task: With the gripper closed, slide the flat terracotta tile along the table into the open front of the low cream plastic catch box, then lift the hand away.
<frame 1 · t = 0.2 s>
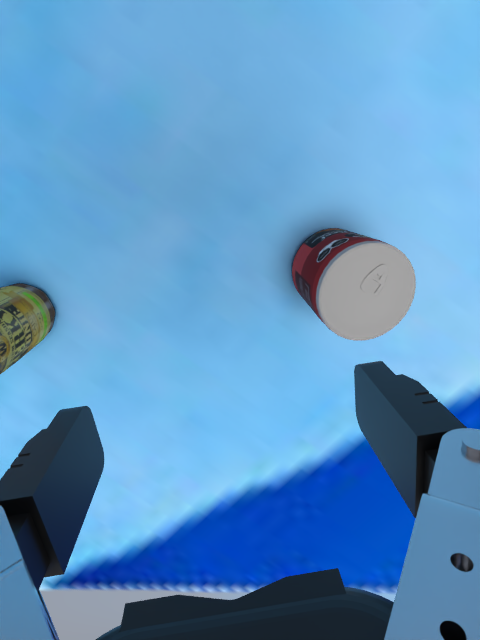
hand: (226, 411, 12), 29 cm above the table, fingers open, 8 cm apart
canned food: (326, 265, 40), on the table
sauce bottle: (27, 308, 39), on the table
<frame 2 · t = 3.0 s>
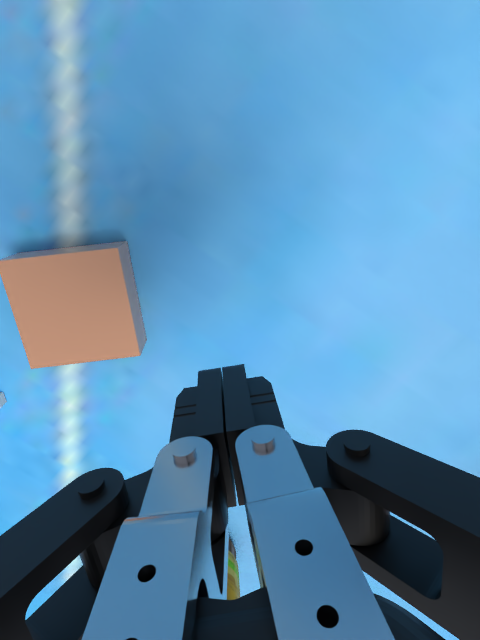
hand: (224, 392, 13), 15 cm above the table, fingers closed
sauce bottle: (201, 544, 35), on the table
terracotta tile: (87, 296, 26), on the table
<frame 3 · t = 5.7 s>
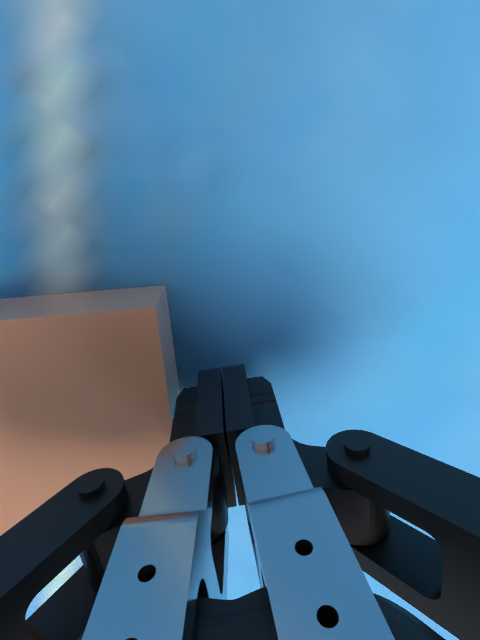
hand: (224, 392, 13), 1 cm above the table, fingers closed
terracotta tile: (82, 383, 14), on the table
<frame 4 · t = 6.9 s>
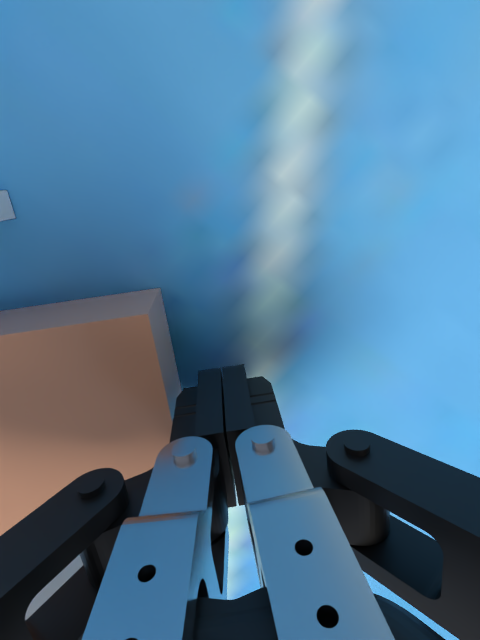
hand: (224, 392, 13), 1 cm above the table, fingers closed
terracotta tile: (84, 391, 14), on the table, touching gripper
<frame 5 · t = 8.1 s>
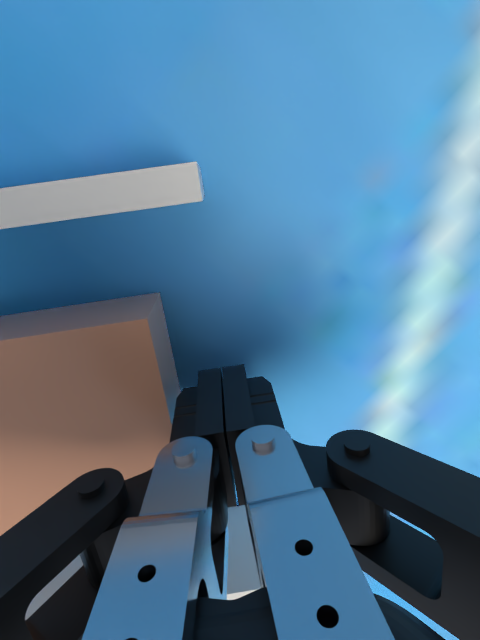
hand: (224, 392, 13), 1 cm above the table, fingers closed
catch box: (50, 399, 14), on the table
terracotta tile: (84, 396, 14), on the table, touching gripper
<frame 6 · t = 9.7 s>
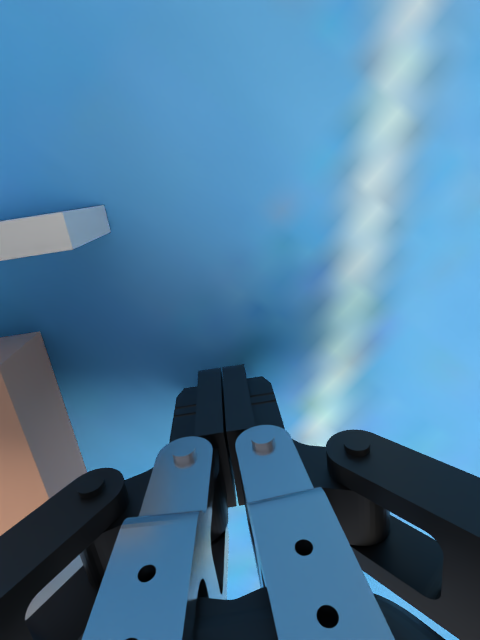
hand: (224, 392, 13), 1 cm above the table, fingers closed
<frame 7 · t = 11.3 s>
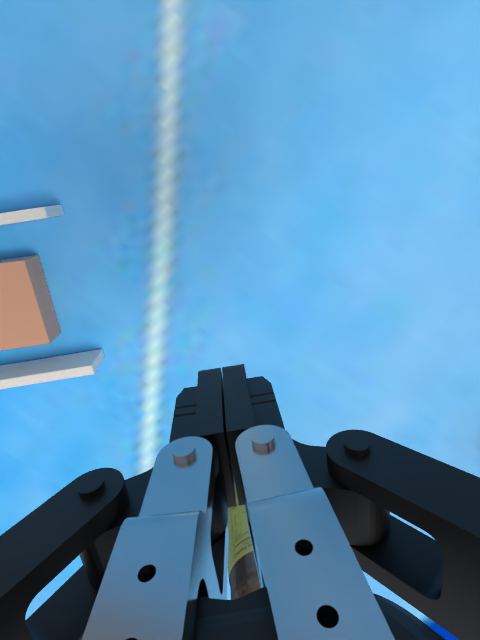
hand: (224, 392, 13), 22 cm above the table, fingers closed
catch box: (10, 297, 33), on the table
sauce bottle: (252, 482, 42), on the table
terracotta tile: (11, 299, 34), on the table
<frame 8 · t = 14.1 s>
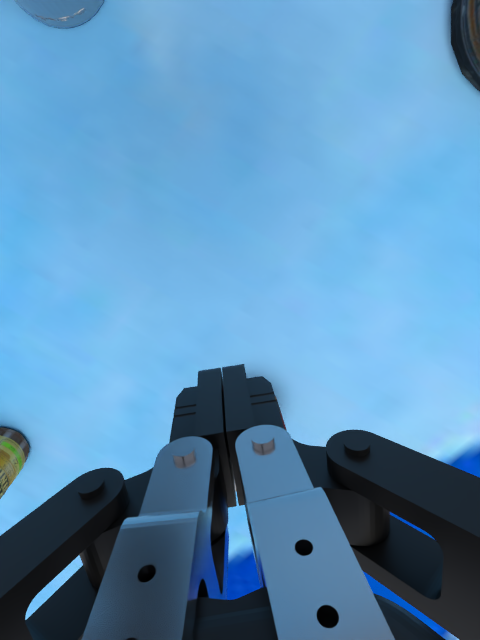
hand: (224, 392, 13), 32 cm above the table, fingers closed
sauce bottle: (7, 443, 49), on the table
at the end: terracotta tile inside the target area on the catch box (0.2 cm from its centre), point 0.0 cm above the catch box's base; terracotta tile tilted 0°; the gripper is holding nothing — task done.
